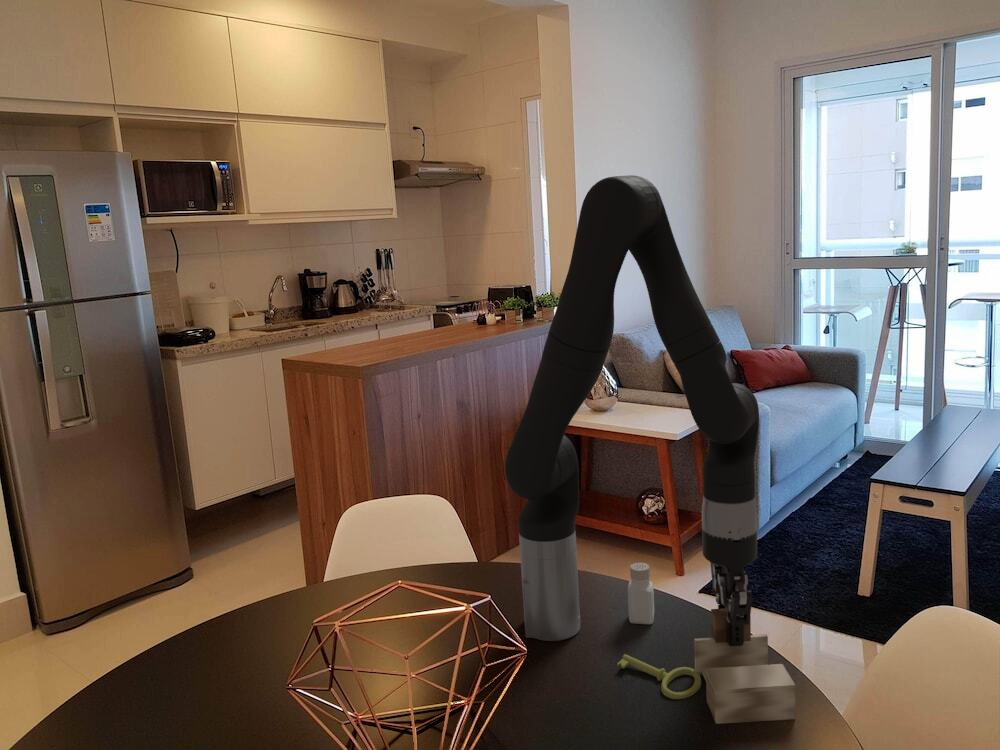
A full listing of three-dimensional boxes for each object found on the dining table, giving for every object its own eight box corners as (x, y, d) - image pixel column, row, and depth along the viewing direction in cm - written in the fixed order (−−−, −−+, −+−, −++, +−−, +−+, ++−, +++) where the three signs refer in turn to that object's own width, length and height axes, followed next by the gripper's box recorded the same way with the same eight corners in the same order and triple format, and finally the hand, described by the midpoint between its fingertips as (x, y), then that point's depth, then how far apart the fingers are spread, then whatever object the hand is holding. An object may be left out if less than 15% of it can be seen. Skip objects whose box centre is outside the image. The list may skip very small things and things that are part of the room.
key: (621, 664, 124) (621, 652, 124) (703, 677, 120) (703, 664, 119) (609, 691, 118) (609, 678, 118) (696, 705, 113) (695, 692, 113)
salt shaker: (628, 624, 135) (626, 571, 133) (630, 612, 139) (628, 560, 137) (653, 625, 134) (651, 572, 132) (654, 614, 138) (652, 561, 136)
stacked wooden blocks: (702, 688, 116) (701, 629, 114) (693, 667, 121) (692, 610, 119) (776, 684, 115) (776, 624, 114) (764, 663, 121) (764, 605, 119)
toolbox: (716, 723, 108) (715, 689, 107) (706, 701, 113) (705, 668, 112) (795, 719, 108) (795, 685, 107) (782, 696, 113) (782, 663, 112)
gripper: (691, 509, 122) (693, 614, 126) (715, 547, 108) (717, 665, 112) (741, 505, 122) (742, 611, 125) (772, 544, 108) (772, 661, 112)
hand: (730, 635), depth 119 cm, fingers open, 4 cm apart
